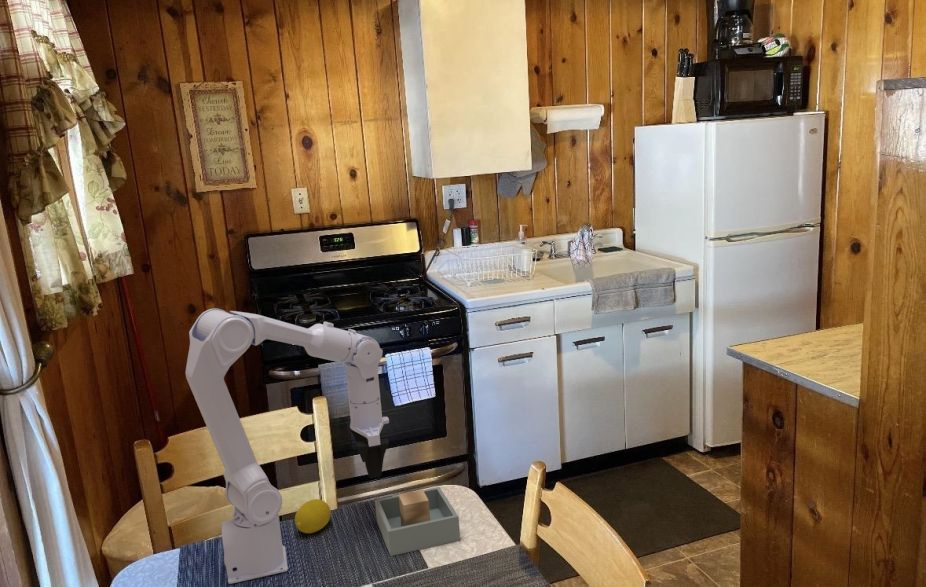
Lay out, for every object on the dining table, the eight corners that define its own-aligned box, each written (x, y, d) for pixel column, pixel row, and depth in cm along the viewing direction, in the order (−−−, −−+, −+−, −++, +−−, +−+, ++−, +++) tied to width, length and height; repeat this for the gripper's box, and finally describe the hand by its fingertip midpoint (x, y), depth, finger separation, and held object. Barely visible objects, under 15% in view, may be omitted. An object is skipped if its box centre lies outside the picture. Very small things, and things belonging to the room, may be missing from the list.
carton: (406, 537, 124) (403, 505, 123) (401, 525, 129) (398, 494, 128) (431, 531, 126) (428, 500, 125) (425, 520, 130) (422, 489, 129)
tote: (390, 556, 120) (388, 531, 119) (377, 522, 131) (374, 499, 131) (460, 540, 123) (458, 516, 122) (441, 508, 135) (439, 486, 134)
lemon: (331, 489, 132) (301, 508, 125) (343, 516, 132) (313, 537, 125) (312, 495, 135) (282, 515, 128) (324, 522, 135) (294, 543, 128)
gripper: (394, 407, 123) (400, 480, 126) (378, 384, 137) (385, 450, 139) (353, 414, 121) (361, 488, 124) (342, 390, 135) (349, 456, 137)
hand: (371, 468), depth 131 cm, fingers open, 7 cm apart
